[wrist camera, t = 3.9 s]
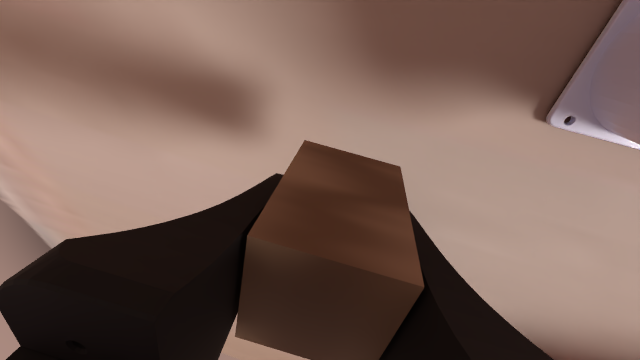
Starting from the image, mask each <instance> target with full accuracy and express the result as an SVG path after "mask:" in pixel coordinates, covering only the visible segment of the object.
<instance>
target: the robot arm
mask: <svg viewBox="0 0 640 360" xmlns="http://www.w3.org/2000/svg"><path fill="white" fill-rule="evenodd" d="M569 116H571V119H570V121H569V122H567V123H564V120H565V119H566V118H567V117H569ZM546 121H547V123H548V124H550V125H552V126H554V127H557V128H561V129H564V130H568V131H572V132H575V133H579V134H583V135H587V136H590V137H594V138H598V139H601V140H605V141H609V142H613V143H616V144H620V145H624V146H627V147H631V148H635V149H639V150H640V0H623V1H622V2H621V4H620V5H619V7H618V8H617V10H616V11H615V13H614V15H613V16H612V18H611V19H610V21H609V22H608V24H607V25H606V27H605V28H604V30H603V31H602V33H601V34H600V36H599V37H598V39H597V40H596V42H595V43H594V45H593V46H592V48H591V49H590V51H589V53H588V54H587V56H586V57H585V59H584V60H583V62H582V63H581V65H580V66H579V68H578V69H577V71H576V72H575V74H574V75H573V77H572V78H571V80H570V81H569V83H568V84H567V86H566V87H565V89H564V90H563V92H562V94H561V95H560V97H559V98H558V100H557V101H556V103H555V104H554V106H553V107H552V109H551V110H550V112H549V113H548V115H547V117H546ZM283 176H284V175H281V174H278V173H276V174H275V175H273V176H271V177H269V178H268V179H266V180H264V181H263V182H261V183H259V184H258V185H256V186H254V187H252V188H251V189H249V190H247V191H245V192H243V193H242V194H240V195H238V196H236V197H234V198H232V199H230V200H227V201H225V202H223V203H221V204H219V205H216V206H214V207H211V208H209V209H206V210H203V211H200V212H198V213H195V214H192V215H188V216H185V217H181V218H178V219H174V220H171V221H167V222H164V223H160V224H156V225H151V226H147V227H142V228H137V229H132V230H127V231H121V232H116V233H109V234H102V235H95V236H88V237H81V238H73V239H66V240H65V241H63V242H61V243H60V244H58V245H57V246H56V247H54V248H53V249H51V250H50V251H48V252H47V253H45V254H44V255H42V256H41V257H40V258H38V259H37V260H35V261H34V262H32V263H31V264H29V265H28V266H26V267H25V268H24V269H22V270H21V271H19V272H18V273H17V274H15V275H14V276H12V277H10V278H9V279H8V280H6V281H5V282H4V283H3V284H2V285H1V286H0V311H1V313H2V315H3V317H4V318H5V320H6V322H7V323H8V325H9V327H10V329H11V330H12V332H13V334H14V335H15V337H16V339H17V340H18V342H19V344H20V347H19V348H18V349H17V350H16V351H15V352H14V353H12V354H11V355H10V356H9V357H8V358H7V359H6V360H218V358H219V356H220V353H221V351H222V348H223V346H224V344H225V341H226V339H227V336H228V334H229V332H230V329H231V327H232V324H233V322H234V320H235V317H236V315H237V313H238V309H239V300H240V292H241V284H242V276H243V268H244V259H245V251H246V243H247V235H248V234H249V232H250V230H251V229H252V227H253V225H254V224H255V222H256V220H257V219H258V217H259V215H260V214H261V212H262V210H263V209H264V207H265V205H266V204H267V202H268V200H269V199H270V197H271V195H272V194H273V192H274V190H275V189H276V187H277V186H278V184H279V182H280V181H281V179H282V177H283ZM409 213H410V218H411V223H412V228H413V233H414V237H415V242H416V247H417V252H418V257H419V262H420V267H421V272H422V277H423V282H424V289H423V290H422V292H421V294H420V295H419V297H418V298H417V300H416V302H415V303H414V305H413V306H412V308H411V309H410V311H409V313H408V314H407V316H406V317H405V319H404V320H403V322H402V324H401V325H400V327H399V328H398V330H397V332H396V333H395V335H394V336H393V338H392V339H391V341H390V343H389V344H388V346H387V347H386V349H385V351H384V352H383V354H382V355H381V357H380V358H379V360H553V359H552V358H551V357H549V356H548V355H547V354H546V353H544V352H543V351H542V350H541V349H539V348H538V347H537V346H536V345H534V344H533V343H532V342H531V341H529V340H528V339H527V338H526V337H525V336H523V335H522V334H521V333H520V332H519V331H517V330H516V329H515V328H514V327H513V326H512V325H510V324H509V323H508V322H507V321H506V320H505V319H504V318H503V317H501V316H500V315H499V314H498V313H497V312H496V311H495V310H494V309H493V308H492V307H490V306H489V305H488V304H487V303H486V302H485V301H484V300H483V299H482V298H481V297H480V296H479V295H478V294H477V293H476V292H475V291H474V290H473V289H472V288H471V287H470V286H469V285H468V284H467V282H466V281H465V280H464V279H463V278H462V277H461V276H460V275H459V274H458V273H457V271H456V270H455V269H454V268H453V267H452V265H451V264H450V263H449V262H448V261H447V260H446V258H445V257H444V256H443V255H442V253H441V252H440V251H439V250H438V248H437V247H436V246H435V244H434V243H433V242H432V240H431V239H430V238H429V236H428V235H427V233H426V232H425V231H424V229H423V228H422V227H421V225H420V224H419V222H418V221H417V220H416V218H415V217H414V216H413V214H412V213H411V212H410V211H409Z"/></svg>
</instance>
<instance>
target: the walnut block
mask: <svg viewBox="0 0 640 360" xmlns="http://www.w3.org/2000/svg"><path fill="white" fill-rule="evenodd" d="M423 289H424V282H423V277H422V272H421V267H420V262H419V257H418V252H417V247H416V242H415V237H414V233H413V228H412V223H411V218H410V213H409V208H408V203H407V198H406V193H405V188H404V183H403V178H402V173H401V168H400V167H399V166H396V165H392V164H389V163H385V162H381V161H378V160H374V159H371V158H367V157H363V156H360V155H356V154H353V153H349V152H346V151H342V150H338V149H335V148H331V147H328V146H324V145H320V144H317V143H313V142H310V141H306V140H305V141H304V142H303V144H302V146H301V147H300V149H299V151H298V152H297V154H296V156H295V157H294V159H293V161H292V162H291V164H290V166H289V167H288V169H287V171H286V172H285V174H284V176H283V177H282V179H281V181H280V182H279V184H278V186H277V187H276V189H275V190H274V192H273V194H272V195H271V197H270V199H269V200H268V202H267V204H266V205H265V207H264V209H263V210H262V212H261V214H260V215H259V217H258V219H257V220H256V222H255V224H254V225H253V227H252V229H251V230H250V232H249V234H248V235H247V243H246V251H245V259H244V268H243V276H242V284H241V292H240V300H239V309H238V317H237V325H236V333H235V337H238V338H241V339H244V340H248V341H251V342H254V343H257V344H261V345H264V346H267V347H271V348H274V349H277V350H280V351H284V352H287V353H290V354H294V355H297V356H300V357H303V358H307V359H310V360H379V358H380V357H381V355H382V354H383V352H384V351H385V349H386V347H387V346H388V344H389V343H390V341H391V339H392V338H393V336H394V335H395V333H396V332H397V330H398V328H399V327H400V325H401V324H402V322H403V320H404V319H405V317H406V316H407V314H408V313H409V311H410V309H411V308H412V306H413V305H414V303H415V302H416V300H417V298H418V297H419V295H420V294H421V292H422V290H423Z"/></svg>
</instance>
